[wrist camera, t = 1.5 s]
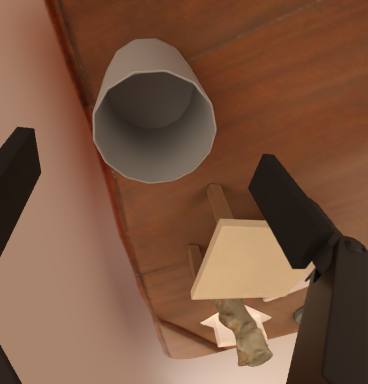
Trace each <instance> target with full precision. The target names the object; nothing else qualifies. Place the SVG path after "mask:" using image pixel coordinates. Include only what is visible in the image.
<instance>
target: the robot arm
mask: <svg viewBox="0 0 368 384" xmlns="http://www.w3.org/2000/svg"><path fill="white" fill-rule="evenodd" d="M40 174H41V168H40V162H39V156H38V150H37V144H36V137H35V131H34V129H33V128H23V127H17V128H16V129H15V130H14V132H13V133H12V135H10V137H9V138H8V139H7V141H6V142H5V143H4V144H3V145H2V147H1V148H0V256H1V254H2V252H3V250H4V248H5V246H6V244H7V242H8V240H9V238H10V236H11V234H12V232H13V230H14V228H15V226H16V224H17V221H18V219H19V217H20V215H21V213H22V211H23V209H24V207H25V205H26V203H27V201H28V199H29V197H30V195H31V193H32V191H33V189H34V186H35V184H36V182H37V180H38V178H39V176H40ZM248 189H249V190H250V192H251V194H252V196H253V198H254V200H255V201H256V203H257V205H258V207H259V209H260V211H261V212H262V214H263V216H264V218H265V220H266V222H267V224H268V225H269V227H270V229H271V231H272V233H273V235H274V236H275V238H276V240H277V242H278V244H279V246H280V247H281V249H282V251H283V253H284V255H285V257H286V258H287V260H288V262H289V264H290V266H291V268H292V269H306V268H307V267H308V265H309V264H310V263H311V262H312V263H313V264H314V266H315V268H314V269H313V271H312V272H311V273H310V274H309V276H308V277H307V278H306V279H305V282H307V281H308V280H310V282H309V286H308V291H307V295H306V299H305V304H304V308H303V312H302V317H301V321H300V325H299V330H298V334H297V338H296V343H295V348H294V352H293V356H292V360H291V365H290V369H289V373H288V378H287V382H286V384H368V251H367V249H366V248H365V246H364V245H363V244H361V243H360V242H359V241H357V240H356V239H354V238H351V237H349V236H343V235H342V233H341V232H340V231H339V230H338V229H337V227H336V226H335V225H334V224H333V222H332V221H331V220H330V219H329V218H328V216H327V215H326V214H325V213H324V212H323V210H322V209H321V208H320V206H319V205H318V204H317V203H315V202H314V201H313V200H312V199H310V198H308V197H307V196H306V195H305V194H304V192H303V191H302V190H301V188H300V187H299V186H298V185H297V183H296V182H295V181H294V180H293V178H292V177H291V176H290V175H289V173H288V172H287V171H286V170H285V168H284V167H283V166H282V165H281V163H280V162H279V161H278V160H277V158H276V157H275V156H274V155H270V154H263V155H262V157H261V160H260V162H259V164H258V166H257V169H256V171H255V173H254V176H253V178H252V180H251V182H250V185H249V187H248ZM0 384H22V383H21V381H20V379H19V378H18V376H17V374H16V372H15V370H14V369H13V367H12V365H11V363H10V362H9V360H8V358H7V356H6V355H5V353H4V351H3V349H2V347H1V345H0Z"/></svg>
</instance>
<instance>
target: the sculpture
mask: <svg viewBox="0 0 368 384" xmlns="http://www.w3.org/2000/svg"><path fill="white" fill-rule="evenodd" d="M213 302H214V304H215V306H216V308H217V310H218V312H219V315H218V318H219V321H220V322H221V323H222V324H223V325H224V326H225V327H227V328H228V329H230V330H232V332H233V333H234V335H235V339H236V348H237V354H238V366H245V365H248V366H251V367H254V366H258V365H261V364H263V363H265V362H266V361H268V360H269V359H270V358H271V357H272V356H273V354H272V352H271V351H270V350H269V349H268V345H267V343H266V341H265V337H264V335H263V333H262V330H261V329H260V328H258V327H257V323H256V321H255V320H254V319H253V318H252V317H251V315H250V314H249V312H248V311H247V309H246V307H245V305H244V303H243V302H242V298H229V299H213Z"/></svg>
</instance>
